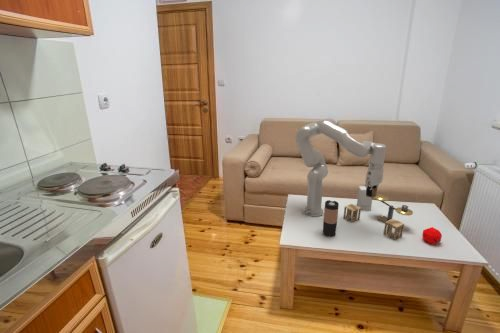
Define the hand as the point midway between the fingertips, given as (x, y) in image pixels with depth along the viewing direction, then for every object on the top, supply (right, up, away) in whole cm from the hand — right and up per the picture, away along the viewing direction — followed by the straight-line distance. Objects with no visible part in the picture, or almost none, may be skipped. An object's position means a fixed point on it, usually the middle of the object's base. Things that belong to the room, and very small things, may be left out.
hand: (371, 194), depth 167 cm
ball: (+30, -26, -8) cm, 40 cm away
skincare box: (+8, -13, +30) cm, 34 cm away
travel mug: (-25, -23, +1) cm, 34 cm away
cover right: (+12, -24, -2) cm, 27 cm away
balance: (+16, -19, +12) cm, 28 cm away
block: (0, -1, 0) cm, 1 cm away
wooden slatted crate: (-6, -18, +16) cm, 25 cm away
